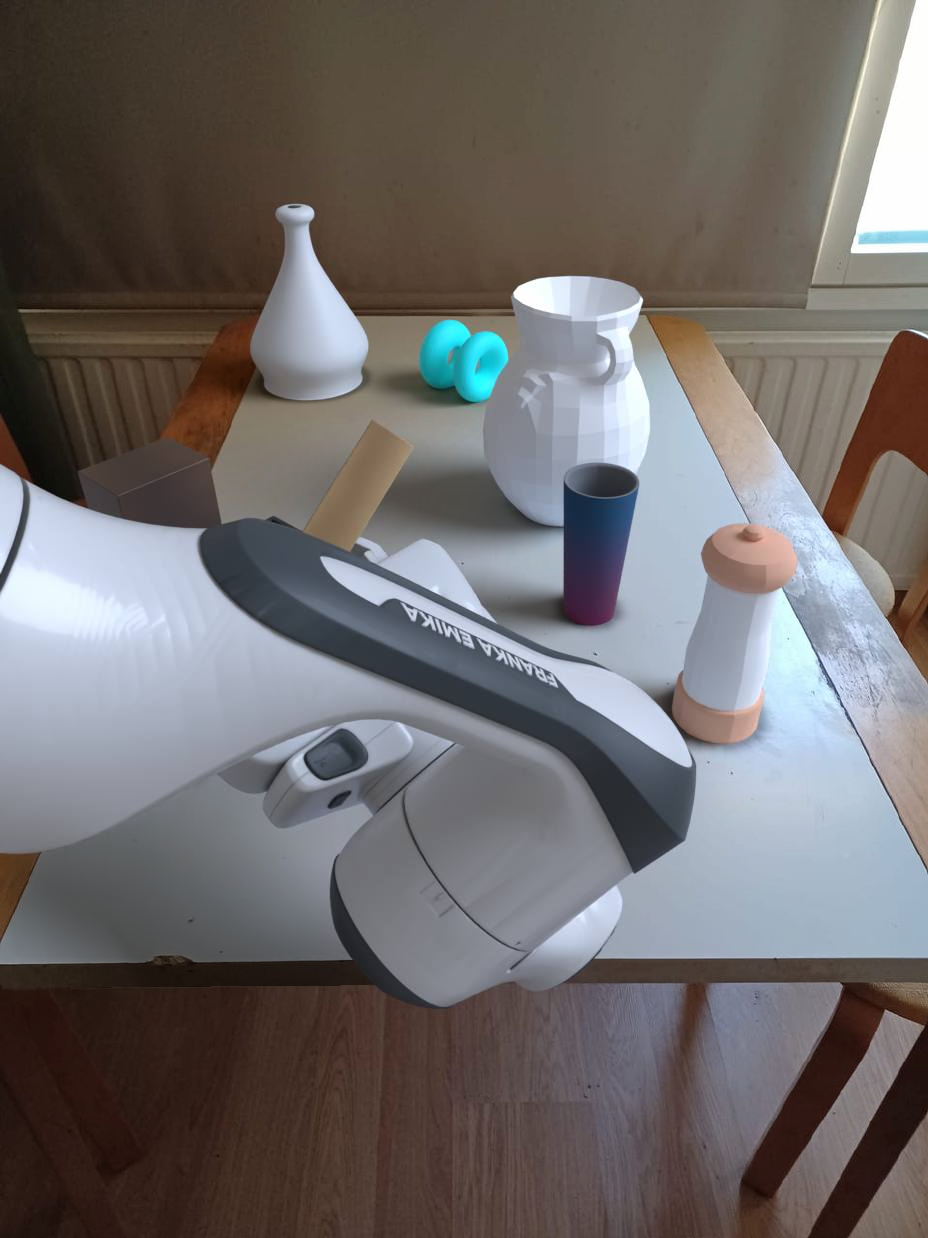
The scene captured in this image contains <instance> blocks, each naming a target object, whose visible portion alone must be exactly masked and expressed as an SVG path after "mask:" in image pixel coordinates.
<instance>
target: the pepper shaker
mask: <svg viewBox="0 0 928 1238" xmlns="http://www.w3.org/2000/svg"><path fill="white" fill-rule="evenodd" d="M700 556H701V563H702V565H703V569H704V571H705V573H706V574H707V578H706V583H705V588H704V593H703V598H702V602H701V608H700V612H699V615H698V617H697V619H696V622H695V624H694V628H693V630H692V632H691V633H690V634H691V635H690V637H689V640H688V642H687V646H686V649H685V655H684V662H683V669H682V671H680V673H678V675H677V678H676V681H675V687H674V693H673V698H672V704H671V711H672V717H673V719H674V720H675V722H676V723H677V726H679V727H680V728H681V729H682V730H683V731H685V732H686V733H687V734H689V736H693V737H694V738H696V739H698V740H701V741H704V742H708V743H712V744H722V745H723V744H725V745H726V744H728V745H729V744H733V743H740V742H742V741H744V740H746V739H748V738H749V737H751V736H752V735H753V734H754V732H755V731H756V730H757V727H758V724H759V719H760V717H761V712H762V709H763V704H764V699H765V691H764V688H763V687H764V682H765V679H766V676H767V673H768V672H767V671H768V669H769V666H770V659H771V657H770V656H771V636H772V622H773V618H774V614H775V610H776V606H777V602H778V597H779V593H780V589H782V588H783V587H784V586H786V585H787V584H788V583H789V582H790V580H791V579H792V578H793V577H794V575H795V574H796V572H797V568H798V556H797V554H796V551H795V549H794V547H793V544H792V543H791V540H789V539H788V538H787V537H786V536H785V535H784V534H783V533H781V532H779V531H777V530H775V529H773V528H770V527H767V526H764V525H761V524H754V523H744V522H743V523H742V522H741V523H739V522H738V523H731V524H727V525H725V526H722V527H719V528H717V530H715V531H714V532H713V533H712V534H710V535H709V537H708V538H706V540H705V542H704V544H703V546H702V549H701V551H700Z"/></svg>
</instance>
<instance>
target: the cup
mask: <svg viewBox="0 0 928 1238" xmlns="http://www.w3.org/2000/svg"><path fill="white" fill-rule="evenodd" d="M639 489H640V479H639V477H638V476H637V474H636V475H635V473H633V472H632V471H631V470H629V469H627V468H625V467H622V466H619V465H615V464H610V463H599V462H596V463H585V464H581V465H577V466H575V467H572V468H571V469H569V470H568V471H567V472H566V473H565V475H564V527H563V572H562V573H563V576H562V577H563V579H562V580H563V581H562V582H563V585H562V586H563V588H562V589H563V595H562V597H563V602H562V603H563V607H562V608H563V610H562V611H563V614H564V615H565V616H566V618H567V619H568V620H570V621H571V622H573V623H575V624H578V625H582V626H588V627H589V626H591V627H592V626H593V627H594V626H595V627H596V626H600V625H604V624H606V623H608V622H610V621H611V620H612V619H613V617H614V615H615V611H616V607H617V601H618V597H619V592H620V585H621V580H622V575H623V571H624V565H625V559H626V555H627V551H628V545H629V540H630V534H631V530H632V524H633V519H634V516H635V515H634V514H635V509H636V503H637V499H638V494H639Z"/></svg>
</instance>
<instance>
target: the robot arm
mask: <svg viewBox="0 0 928 1238" xmlns="http://www.w3.org/2000/svg"><path fill="white" fill-rule="evenodd" d="M301 531H302V530H301ZM301 531H298V530H296V529H293V528H290V527H287V526H284V525H280V524H277V523H274V522H271V521H267V520H266V519H263V518H257V517H245V518H241V519H236V520H232V521H229V522H225V523H222V524H220V525H216V526H212V527H210V528H179V527H168V526H160V525H152V524H146V523H140V522H135V521H130V520H125V519H121V518H117V517H113V516H110V515H106V514H103V513H99V512H96V511H93V510H90V509H88V507H84V506H81V505H78V504H76V503H73V502H71V501H68V500H66V499H64V498H61V497H59V496H56V495H55V494H52V493H51V492H49V491H47V490H46V489H43V488H41V487H39V486H38V485H36V484H33V483H31V482H30V481H28V480H26V479H25V478H23V477H22V476H20V475H18V474H17V473H16V472H15V471H13V470H11V469H9V468H8V467H6V466H5V465H3V464H1V463H0V854H8V855H25V854H27V855H28V854H36V853H37V854H38V853H43V852H50V851H54V850H58V849H62V848H66V847H69V846H72V845H75V844H78V843H82V842H84V841H87V840H88V841H89V840H90V839H94V838H96V837H100V836H102V835H104V834H107V833H108V832H111V831H113V830H115V829H118V828H120V827H123V826H124V825H126V824H129V823H131V822H133V821H135V820H136V819H139V818H140V817H142V816H144V815H146V814H147V813H149V812H150V811H153V810H154V809H156V808H158V807H159V806H161V805H162V804H164V803H166V802H168V801H170V800H171V799H173V798H175V797H177V796H178V795H180V794H182V793H184V792H185V791H187V790H189V789H190V788H193V787H194V786H196V785H197V784H199V783H202V782H203V781H205V780H207V779H209V778H211V777H212V776H214V775H217V776H218V777H219V778H221V780H223V781H224V782H225V783H226V784H227V785H229V786H230V787H232V788H234V789H235V790H238V791H240V792H242V793H246V794H250V795H251V794H252V795H257V794H259V795H260V794H263V793H265V795H264V798H263V799H262V800H263V801H262V803H261V808H262V811H263V813H264V815H265V816H266V818H267V819H268V821H269V822H270V824H272V825H273V826H274V827H276V828H278V829H288V828H292V827H295V826H298V825H301V824H304V823H306V822H309V821H312V820H315V819H318V818H321V817H324V816H326V815H329V814H332V813H336V812H339V811H343V810H345V809H348V808H351V807H355V806H358V805H361V804H363V805H364V806H365V807H366V809H367V810H368V811H369V812H370V814H371V815H372V816H371V817H370V818H369V819H368V820H367V821H366V822H364V823H363V824H362V825H361V826H360V827H359V828H358V829H357V830H356V831H355V833H353V834H352V835H351V837H350V838H349V839H348V840H347V841H346V843H345V845H344V846H343V847H342V849H341V851H340V852H339V853H338V854H336V856H335V858H334V860H333V863H332V867H331V873H330V879H329V906H330V912H331V918H332V924H333V928H334V930H335V933H336V935H337V937H338V939H339V941H340V943H341V945H342V947H343V948H344V950H345V952H346V953H347V955H348V956H349V957H350V958H351V961H352V962H353V963H354V964H355V965H356V967H357V968H358V969H359V970H360V972H361V973H362V974H363V975H364V976H365V977H366V979H368V981H370V983H371V984H373V986H375V987H376V988H377V989H378V990H380V991H381V992H382V993H384V994H386V995H388V996H390V997H392V998H394V999H396V1000H398V1001H400V1002H403V1003H405V1004H408V1005H411V1006H414V1007H417V1008H423V1009H432V1010H447V1009H450V1008H452V1007H453V1006H455V1005H456V1004H458V1003H460V1002H463V1001H465V1000H467V999H469V998H471V997H473V996H475V995H478V994H480V993H482V992H484V991H486V990H487V991H488V989H491V988H493V987H496V986H498V985H502V984H506V983H513V982H514V984H516V985H517V986H518V987H520V988H522V989H524V990H527V991H530V992H543V991H547V990H550V989H553V988H556V987H558V986H560V985H562V984H564V983H565V982H567V981H569V980H571V979H572V978H574V977H575V976H576V975H578V974H579V973H580V972H582V971H583V970H584V969H585V968H586V967H588V965H589V964H590V963H592V962H593V960H594V959H596V958H597V956H598V955H599V954H600V953H601V951H602V950H603V948H604V946H605V945H606V944H607V942H608V941H609V940H610V938H611V936H613V934H614V932H615V930H616V928H617V926H618V924H619V922H620V918H621V916H622V912H623V903H624V901H623V896H622V894H621V891H620V889H619V887H618V884H619V883H621V882H622V881H623V880H624V879H626V878H628V876H630V875H631V874H635V875H636V874H637V873H639V872H641V871H642V870H644V869H645V868H647V867H648V866H650V865H651V864H653V862H655V861H657V860H658V859H660V858H661V857H663V856H664V855H666V854H667V853H669V852H670V851H672V850H673V849H674V848H676V847H678V846H679V845H680V844H682V843H684V842H685V841H686V840H687V835H688V832H689V828H690V824H691V819H692V814H693V809H694V805H695V796H696V787H697V763H696V759H695V758H694V756H693V754H692V752H691V750H690V749H689V747H688V745H687V744H686V742H685V740H684V738H683V736H682V734H681V733H680V731H679V730H678V728H677V726H676V724H675V723H674V722H673V721H672V720H671V718H670V717H669V715H667V713H666V712H665V711H664V710H663V708H662V707H661V706H660V705H659V704H658V703H657V702H656V701H655V700H654V699H653V698H651V696H649V694H648V693H646V691H644V690H642V689H641V688H640V687H639V686H638V685H636V684H635V683H633V682H631V681H630V680H629V679H627V678H625V677H624V676H621V675H619V673H618V674H617V673H615V672H614V671H613V670H611V669H609V668H607V667H606V666H604V665H602V664H600V663H598V662H596V661H593V660H591V659H588V658H583V657H580V656H575V655H572V654H569V653H564V652H561V651H557V650H554V649H552V648H549V647H546V646H544V645H542V644H539V643H537V642H536V641H533V640H532V639H529V638H528V637H525V636H524V635H521V634H519V633H517V632H515V631H513V630H510V629H509V628H507V627H505V626H503V625H501V624H499V623H498V622H497V620H495V619H494V618H493V616H492V615H491V614H490V613H489V612H488V610H487V609H486V608H485V607H484V606H483V605H482V603H481V601H480V600H479V597H478V596H477V594H476V592H475V591H474V590H473V587H472V586H471V585H470V583H469V581H468V580H467V579H466V577H465V575H464V574H463V573H462V571H461V569H460V568H459V566H458V565H457V564H456V563H455V561H454V559H452V557H451V556H450V555H449V553H448V552H447V551H446V550H445V549H444V547H443V546H441V545H440V544H439V543H436V542H435V541H432V540H430V539H425V538H419V539H416V540H415V541H414V542H412V543H409V544H408V545H406V546H404V547H403V548H401V549H400V550H398V551H396V552H394V553H393V554H390V555H388V554H387V553H386V551H385V550H384V549H383V548H382V546H381V545H380V544H379V543H376V542H374V541H371V540H369V539H366V538H364V537H362V536H361V535H360V536H359V538H358V539H357V541H356V543H355V544H354V546H353V548H352V549H351V551H350V552H349V551H347V550H345V549H342V548H340V547H338V546H335V545H333V544H331V543H329V542H326V541H324V540H321V539H319V538H316V537H314V536H311V535H309V534H306V533H304V532H301Z"/></svg>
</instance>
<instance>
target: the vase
mask: <svg viewBox="0 0 928 1238" xmlns="http://www.w3.org/2000/svg"><path fill="white" fill-rule="evenodd" d="M275 218H276V220H277V221H278V222H279V223H281V225H282V226H283V230H284V253H283V257H282V258H283V259H282V262H281V266H280V269H279V272H278V274H277V277H276V279H275V281H274V284H273V286H272V288H271V290H270V294H269V296H268V298H267V300H266V302H265V305H264V307H263V309H262V311H261V314H260V316H259V318H258V320H257V323H256V325H255V327H254V331H253V333H252V336H251V340H250V345H249V349H250V350H249V353H250V356H251V359H252V361H253V363H254V365H255V366H256V368H257V369H258V370H259V372H260V374H261V375H262V377H263V380H264V381H263V385H264V388H265V390H267V391H268V393H271V395H274V396H277V397H280V398H283V399H289V400H296V401H297V400H298V401H314V400H325V399H326V400H327V399H331V398H335V397H339V396H342V395H345V394H347V393H349V392H350V393H351V392H352V391H353V390H355V389H357V388H358V387H359V386H360V385H361V383H362V382H363V375H362V370H363V366H364V363H365V361H366V360H367V359H366V358H367V356H368V353H369V339H368V337H367V333H366V331H365V329H364V328H363V326H362V324H361V323H360V321H359V320H358V318H357V316H356V315H355V314H354V312H353V311H352V310H351V308H350V307H349V305H348V303H346V301H345V299H344V298H343V296H342V295H341V294H340V292H339V291H338V290H337V288H336V286H335V285H334V283H333V282H332V281H331V280H330V278H329V276H328V274H327V272H326V271H325V270H324V268H323V266H322V265H321V263H320V262H319V260H318V258H317V256H316V253H315V250H314V248H313V244H312V239H311V233H310V224H311V222H312V221H313V219H314V218H315V211H314V209H313V208H312V207H311V206H309V205H308V204H302V203H291V204H284V205H281V206H280V207H278V208H277V209H276V210H275Z"/></svg>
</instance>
